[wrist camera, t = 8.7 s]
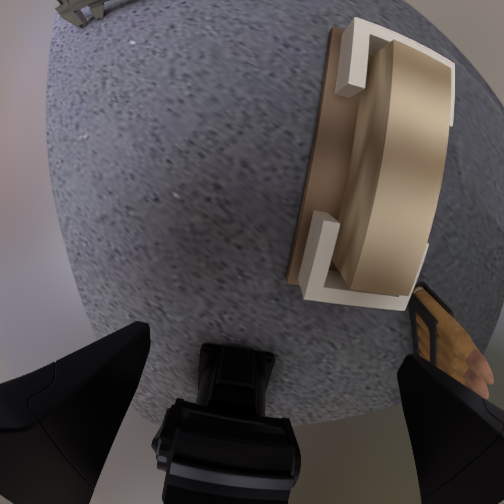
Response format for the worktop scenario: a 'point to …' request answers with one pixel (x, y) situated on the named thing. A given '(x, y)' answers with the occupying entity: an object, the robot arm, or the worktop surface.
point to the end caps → (323, 224)
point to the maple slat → (394, 170)
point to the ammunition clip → (446, 341)
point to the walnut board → (326, 156)
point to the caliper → (70, 11)
